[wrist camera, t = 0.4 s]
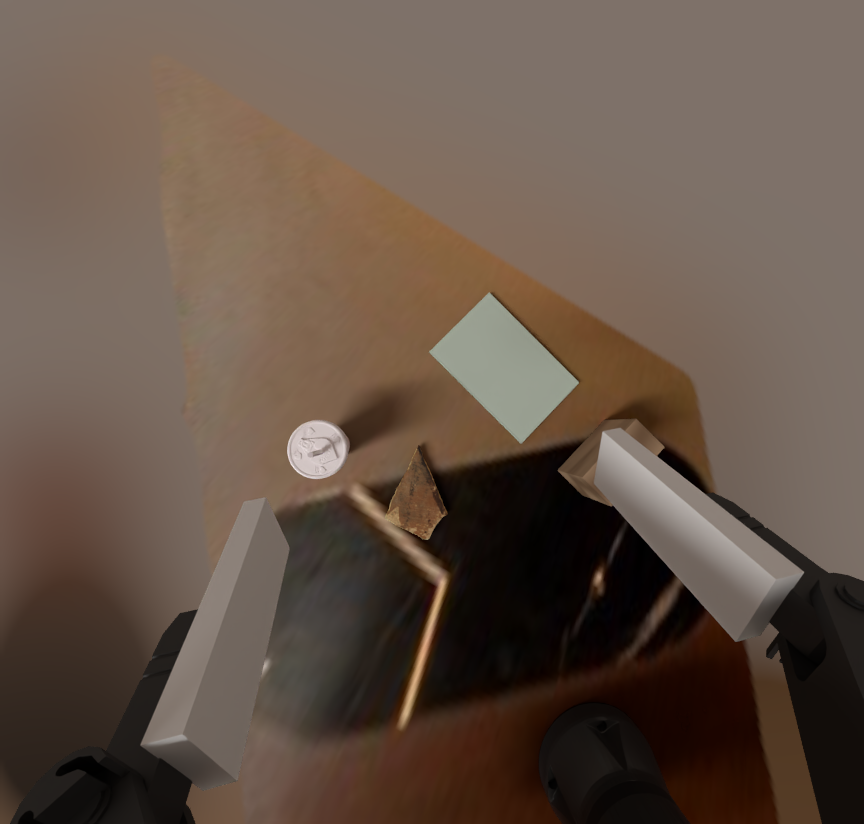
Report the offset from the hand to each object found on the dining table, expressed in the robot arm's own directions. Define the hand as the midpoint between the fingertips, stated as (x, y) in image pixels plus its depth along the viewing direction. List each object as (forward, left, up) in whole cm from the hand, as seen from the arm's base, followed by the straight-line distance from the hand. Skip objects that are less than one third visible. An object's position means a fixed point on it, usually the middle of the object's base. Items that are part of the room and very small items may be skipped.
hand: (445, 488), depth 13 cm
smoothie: (+8, +8, -34) cm, 36 cm away
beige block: (-19, -16, -34) cm, 42 cm away
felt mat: (-1, -16, -34) cm, 37 cm away
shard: (-4, +6, -34) cm, 35 cm away
